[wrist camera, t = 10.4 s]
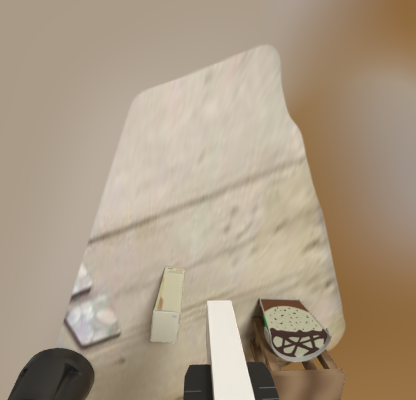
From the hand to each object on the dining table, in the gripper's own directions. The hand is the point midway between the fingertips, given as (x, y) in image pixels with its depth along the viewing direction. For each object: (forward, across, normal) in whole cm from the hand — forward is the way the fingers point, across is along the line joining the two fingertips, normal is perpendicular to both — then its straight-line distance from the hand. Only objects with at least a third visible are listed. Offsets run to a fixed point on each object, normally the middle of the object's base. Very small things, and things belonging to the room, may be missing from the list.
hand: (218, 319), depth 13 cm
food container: (+29, +18, -24) cm, 41 cm away
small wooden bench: (+28, +18, -30) cm, 45 cm away
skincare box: (+29, -6, -16) cm, 33 cm away
